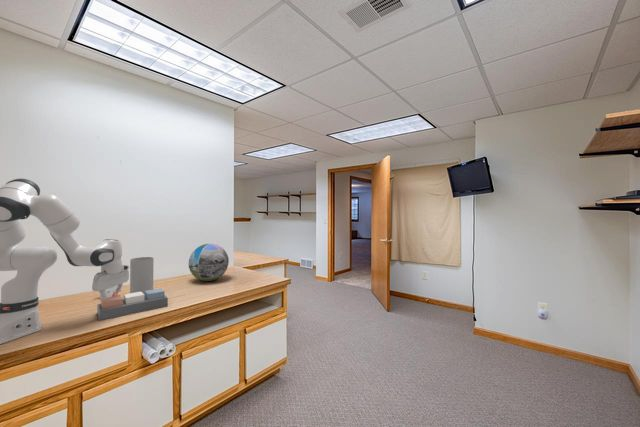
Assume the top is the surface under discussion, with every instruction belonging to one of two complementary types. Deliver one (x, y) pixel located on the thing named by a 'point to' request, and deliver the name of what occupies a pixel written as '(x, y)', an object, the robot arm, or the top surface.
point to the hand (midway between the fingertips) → (111, 294)
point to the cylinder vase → (141, 274)
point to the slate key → (154, 294)
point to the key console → (131, 308)
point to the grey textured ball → (208, 262)
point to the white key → (133, 298)
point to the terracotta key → (111, 302)
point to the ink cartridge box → (111, 291)
